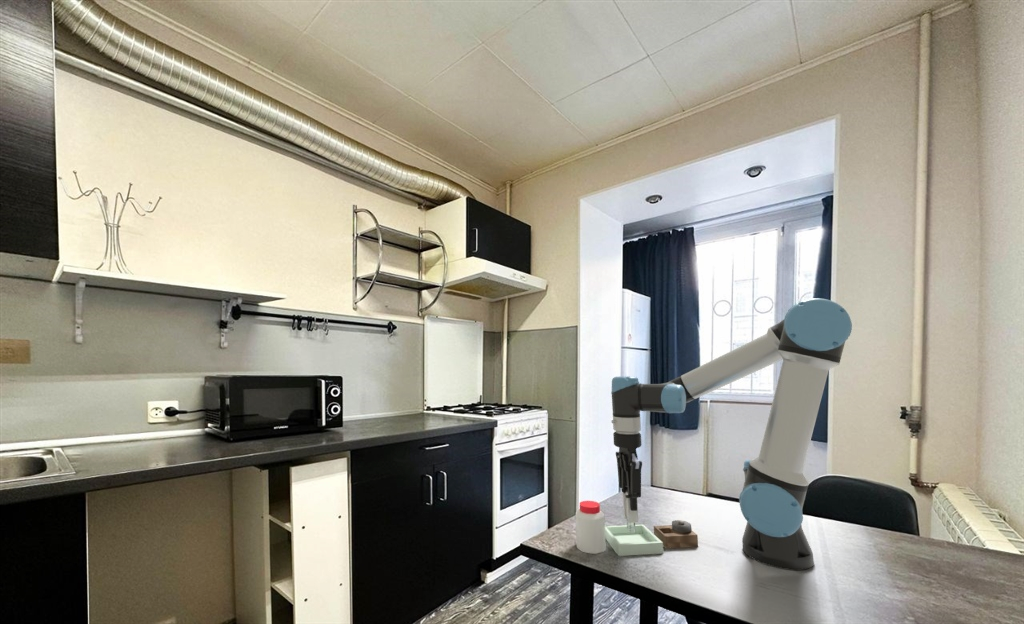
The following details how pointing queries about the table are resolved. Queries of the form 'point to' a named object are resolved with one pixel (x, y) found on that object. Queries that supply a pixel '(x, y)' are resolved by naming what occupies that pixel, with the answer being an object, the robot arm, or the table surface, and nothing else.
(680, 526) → the brown and grey block
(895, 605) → the table surface
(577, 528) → the pill bottle
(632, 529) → the clear translucent rod
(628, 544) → the tray
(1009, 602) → the table surface
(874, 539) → the table surface
